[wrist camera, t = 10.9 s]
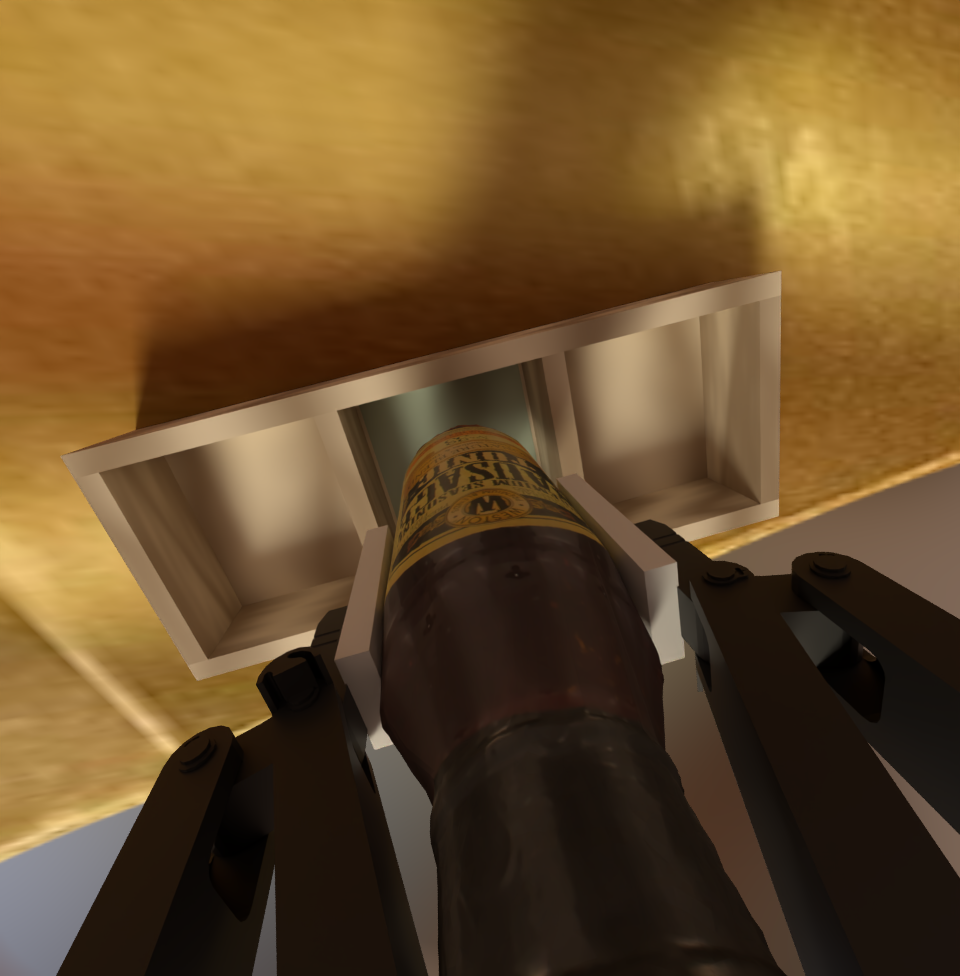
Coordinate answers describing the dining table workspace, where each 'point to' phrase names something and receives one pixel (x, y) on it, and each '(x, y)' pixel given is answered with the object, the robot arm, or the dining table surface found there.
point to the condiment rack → (416, 420)
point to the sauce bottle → (542, 736)
